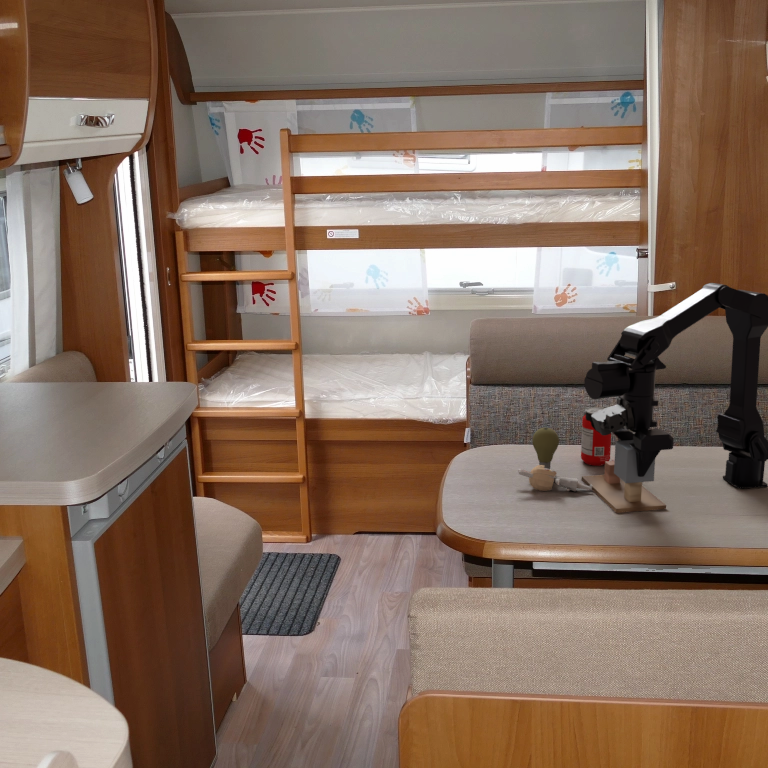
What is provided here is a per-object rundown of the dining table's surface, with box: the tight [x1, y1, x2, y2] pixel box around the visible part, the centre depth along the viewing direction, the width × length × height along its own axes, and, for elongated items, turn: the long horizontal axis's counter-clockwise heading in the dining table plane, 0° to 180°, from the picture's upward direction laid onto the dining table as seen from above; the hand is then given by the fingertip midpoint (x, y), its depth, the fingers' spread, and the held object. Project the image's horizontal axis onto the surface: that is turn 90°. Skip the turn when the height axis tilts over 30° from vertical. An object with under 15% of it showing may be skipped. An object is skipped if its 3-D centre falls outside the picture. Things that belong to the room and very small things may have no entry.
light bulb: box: [531, 426, 560, 469], centre depth 181 cm, size 6×6×10 cm
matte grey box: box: [614, 440, 656, 483], centre depth 163 cm, size 6×6×7 cm
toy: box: [517, 464, 593, 492], centre depth 172 cm, size 10×5×15 cm
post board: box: [581, 460, 667, 514], centre depth 169 cm, size 10×18×8 cm, turn 8°
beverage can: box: [580, 406, 612, 467], centre depth 187 cm, size 6×6×12 cm
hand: (634, 471), depth 163 cm, fingers closed on matte grey box, 6 cm apart
